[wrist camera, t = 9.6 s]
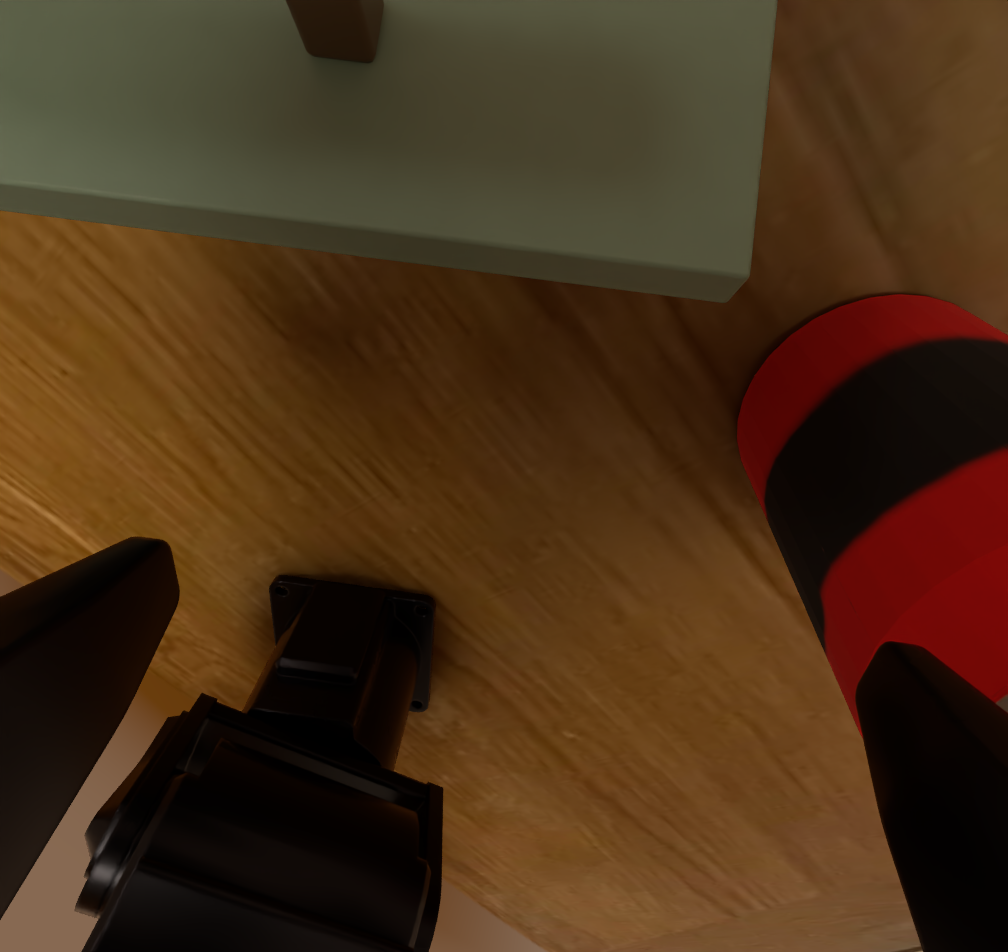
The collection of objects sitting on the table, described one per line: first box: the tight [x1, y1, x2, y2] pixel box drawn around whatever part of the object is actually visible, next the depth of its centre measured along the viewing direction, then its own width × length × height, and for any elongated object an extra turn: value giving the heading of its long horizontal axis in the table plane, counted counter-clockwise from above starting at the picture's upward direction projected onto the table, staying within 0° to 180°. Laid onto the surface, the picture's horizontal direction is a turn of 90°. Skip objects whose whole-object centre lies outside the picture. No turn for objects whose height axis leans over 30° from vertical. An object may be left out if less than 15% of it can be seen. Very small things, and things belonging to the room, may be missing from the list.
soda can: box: [737, 294, 1008, 738], centre depth 15 cm, size 8×8×12 cm
